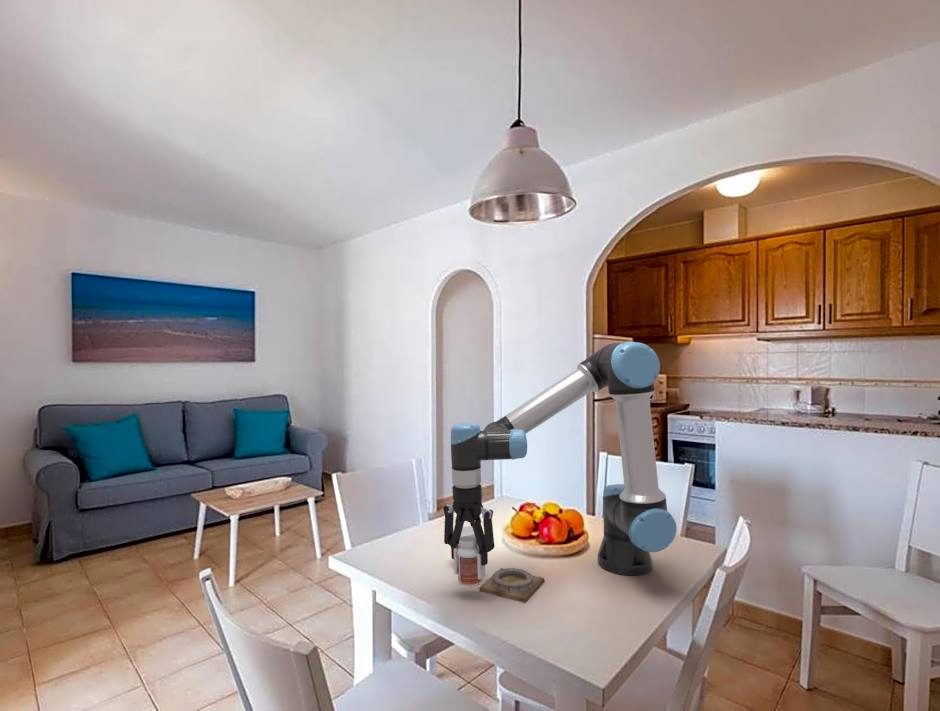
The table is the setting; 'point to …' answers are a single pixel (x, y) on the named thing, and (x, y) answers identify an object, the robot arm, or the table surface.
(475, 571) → the pill bottle
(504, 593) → the socket base
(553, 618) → the table surface
